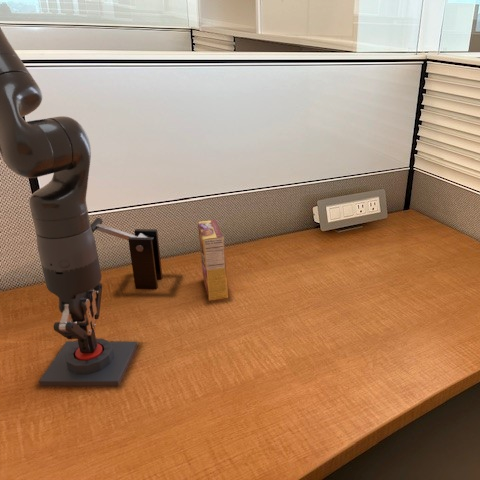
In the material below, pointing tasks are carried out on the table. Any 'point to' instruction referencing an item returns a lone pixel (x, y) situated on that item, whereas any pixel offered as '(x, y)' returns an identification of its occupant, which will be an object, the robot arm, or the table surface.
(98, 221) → the lever
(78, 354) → the button
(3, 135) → the robot arm
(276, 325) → the table surface
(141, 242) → the bracket
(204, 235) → the candy box
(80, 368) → the control block
